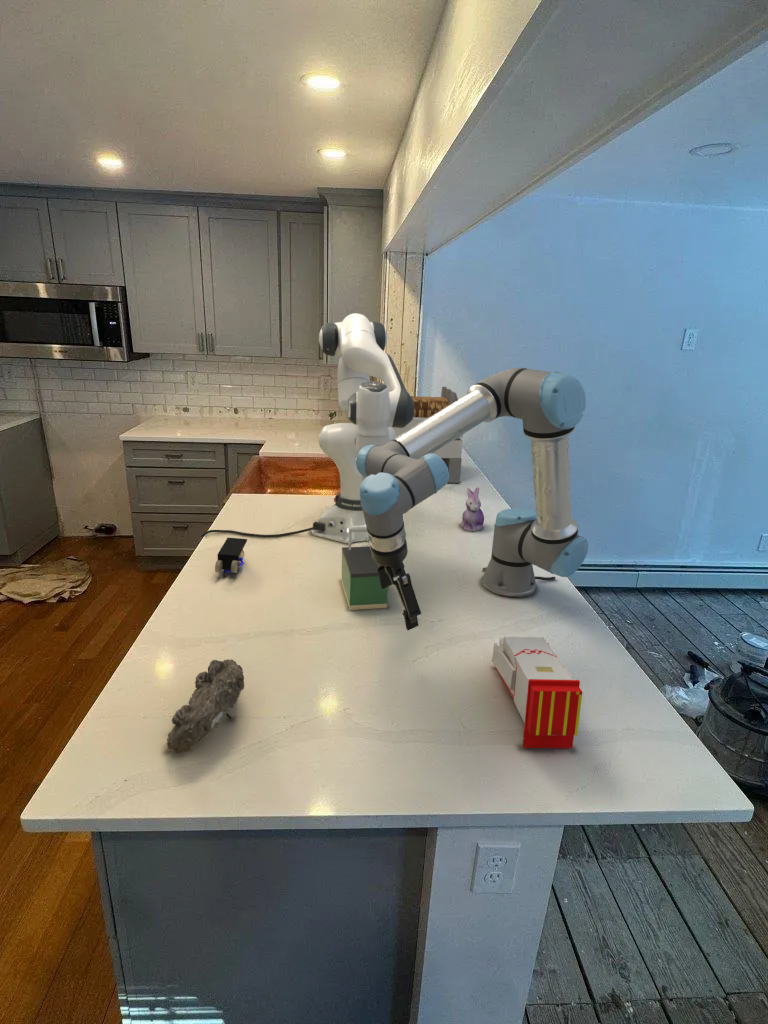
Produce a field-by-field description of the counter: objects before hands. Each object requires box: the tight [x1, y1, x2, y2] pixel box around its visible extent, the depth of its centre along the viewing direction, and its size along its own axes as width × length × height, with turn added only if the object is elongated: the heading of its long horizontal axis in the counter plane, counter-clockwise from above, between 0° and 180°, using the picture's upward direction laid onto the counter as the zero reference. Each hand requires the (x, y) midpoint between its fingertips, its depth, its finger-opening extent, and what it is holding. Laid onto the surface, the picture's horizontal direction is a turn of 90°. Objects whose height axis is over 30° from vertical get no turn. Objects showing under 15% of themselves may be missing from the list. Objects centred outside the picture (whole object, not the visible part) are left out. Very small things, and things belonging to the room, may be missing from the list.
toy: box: [491, 636, 583, 749], centre depth 115 cm, size 12×13×30 cm
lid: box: [341, 526, 379, 577], centre depth 153 cm, size 17×10×8 cm, turn 11°
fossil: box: [166, 658, 245, 754], centre depth 106 cm, size 22×10×15 cm
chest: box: [340, 551, 389, 611], centre depth 156 cm, size 17×10×9 cm, turn 11°
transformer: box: [392, 386, 464, 484], centre depth 268 cm, size 34×33×41 cm
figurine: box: [461, 486, 485, 532], centre depth 206 cm, size 9×10×15 cm
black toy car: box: [214, 537, 248, 578], centre depth 166 cm, size 7×8×15 cm
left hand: (370, 493), depth 156 cm, fingers open, 8 cm apart
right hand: (399, 605), depth 130 cm, fingers open, 13 cm apart
